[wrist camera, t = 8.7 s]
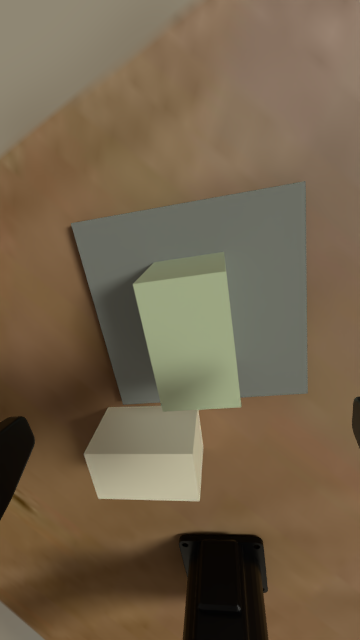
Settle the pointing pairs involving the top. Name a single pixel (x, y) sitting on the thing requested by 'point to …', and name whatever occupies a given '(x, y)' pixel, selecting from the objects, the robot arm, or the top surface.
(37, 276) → the top surface
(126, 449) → the brick cream
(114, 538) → the top surface
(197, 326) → the brick sage
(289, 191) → the coaster
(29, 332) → the top surface
